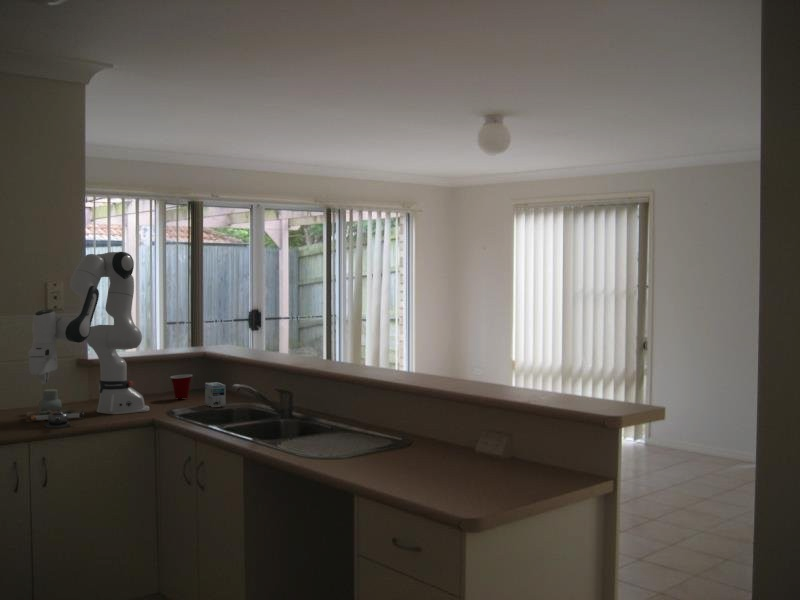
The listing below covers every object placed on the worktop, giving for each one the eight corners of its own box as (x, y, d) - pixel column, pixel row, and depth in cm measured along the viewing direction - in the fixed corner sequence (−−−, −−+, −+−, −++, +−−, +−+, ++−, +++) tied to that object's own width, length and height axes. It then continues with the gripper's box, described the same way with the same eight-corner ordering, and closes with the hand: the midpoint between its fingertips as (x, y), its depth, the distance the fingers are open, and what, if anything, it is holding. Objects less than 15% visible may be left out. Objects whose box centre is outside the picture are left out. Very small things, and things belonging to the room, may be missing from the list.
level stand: (82, 414, 333) (82, 405, 333) (83, 418, 324) (83, 408, 324) (27, 418, 324) (27, 408, 324) (26, 422, 315) (26, 412, 315)
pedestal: (69, 423, 314) (69, 421, 314) (70, 427, 306) (70, 425, 306) (45, 425, 310) (45, 422, 310) (45, 429, 302) (45, 426, 302)
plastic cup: (172, 397, 382) (172, 373, 382) (194, 397, 383) (194, 373, 383) (167, 401, 371) (167, 376, 371) (190, 401, 373) (190, 376, 372)
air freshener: (62, 413, 335) (62, 391, 335) (41, 415, 331) (41, 392, 330) (58, 409, 344) (58, 387, 344) (38, 411, 340) (38, 389, 340)
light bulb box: (226, 407, 357) (226, 384, 357) (212, 408, 353) (212, 385, 353) (217, 403, 366) (217, 381, 366) (204, 405, 362) (204, 382, 362)
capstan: (83, 417, 321) (83, 406, 321) (85, 426, 303) (85, 414, 303) (31, 420, 313) (31, 408, 313) (30, 429, 295) (30, 417, 295)
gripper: (46, 347, 319) (46, 380, 319) (26, 352, 298) (26, 387, 299) (61, 347, 319) (61, 380, 320) (42, 352, 299) (42, 387, 299)
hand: (44, 383), depth 309 cm, fingers closed
